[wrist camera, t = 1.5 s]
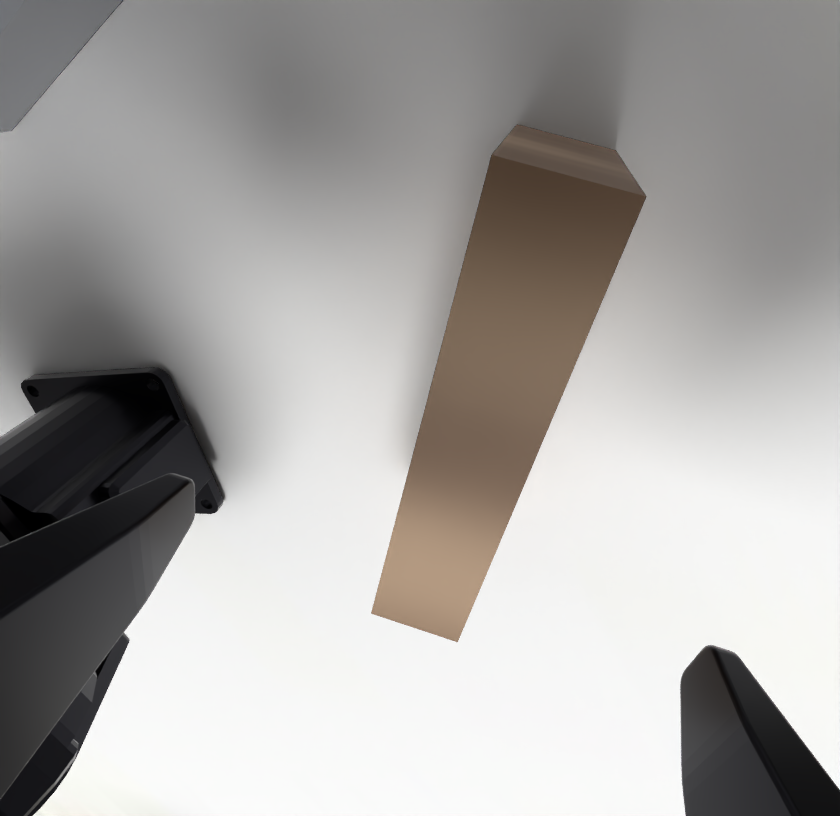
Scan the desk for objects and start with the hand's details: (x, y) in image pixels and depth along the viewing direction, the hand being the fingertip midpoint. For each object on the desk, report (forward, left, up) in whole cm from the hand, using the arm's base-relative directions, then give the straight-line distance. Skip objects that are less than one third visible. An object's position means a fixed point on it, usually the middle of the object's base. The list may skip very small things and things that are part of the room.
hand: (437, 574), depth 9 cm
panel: (0, 0, -9) cm, 9 cm away
